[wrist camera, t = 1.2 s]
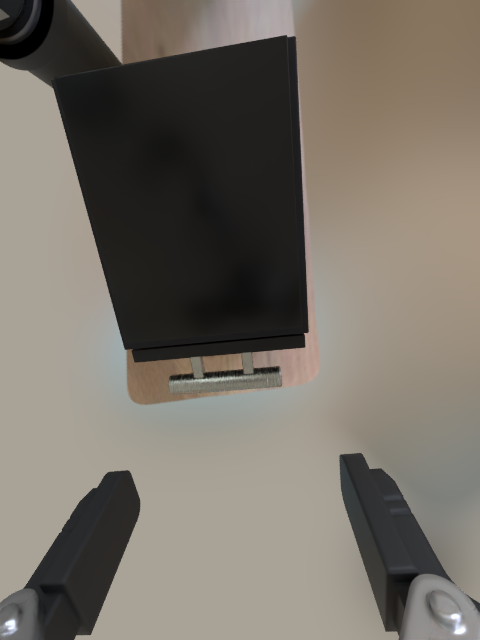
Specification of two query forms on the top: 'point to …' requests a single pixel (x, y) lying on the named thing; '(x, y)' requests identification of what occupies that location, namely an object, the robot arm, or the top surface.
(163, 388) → the top surface
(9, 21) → the robot arm
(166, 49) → the top surface
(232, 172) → the oven
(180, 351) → the oven door
